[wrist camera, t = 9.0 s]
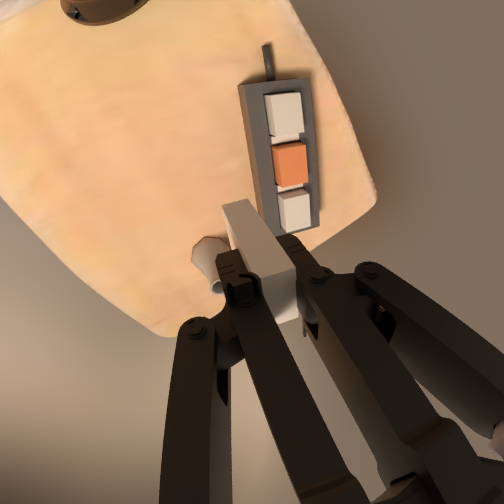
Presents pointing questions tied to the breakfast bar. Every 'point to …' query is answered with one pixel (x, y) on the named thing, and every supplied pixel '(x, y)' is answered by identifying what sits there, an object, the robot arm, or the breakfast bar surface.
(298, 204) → the switch
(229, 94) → the breakfast bar surface
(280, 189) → the power strip
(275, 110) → the switch
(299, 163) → the switch
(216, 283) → the flask
